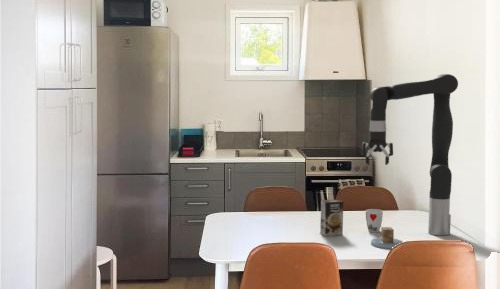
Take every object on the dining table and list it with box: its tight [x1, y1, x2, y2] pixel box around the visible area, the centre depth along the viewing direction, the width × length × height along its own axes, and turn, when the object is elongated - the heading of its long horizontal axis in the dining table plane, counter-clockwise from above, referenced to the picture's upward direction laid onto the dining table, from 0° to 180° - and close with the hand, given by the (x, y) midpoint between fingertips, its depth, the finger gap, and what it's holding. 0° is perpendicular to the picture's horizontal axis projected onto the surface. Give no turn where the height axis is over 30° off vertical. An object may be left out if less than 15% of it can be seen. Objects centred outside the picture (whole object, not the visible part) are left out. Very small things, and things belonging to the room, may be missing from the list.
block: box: [380, 226, 395, 243], centre depth 248 cm, size 4×4×6 cm
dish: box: [370, 237, 404, 250], centre depth 248 cm, size 14×14×1 cm
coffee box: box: [319, 199, 344, 237], centre depth 265 cm, size 9×6×16 cm
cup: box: [365, 208, 384, 233], centre depth 272 cm, size 8×8×10 cm
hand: (377, 164), depth 264 cm, fingers open, 8 cm apart
